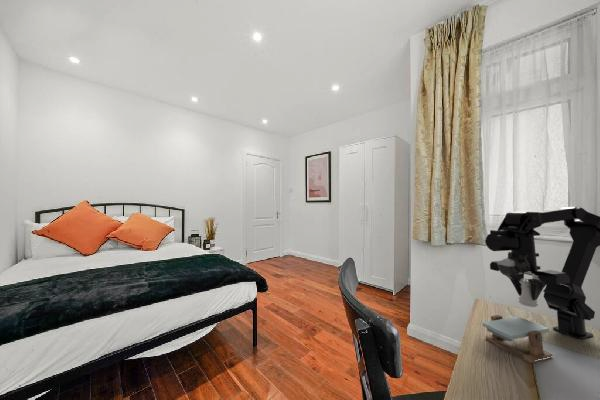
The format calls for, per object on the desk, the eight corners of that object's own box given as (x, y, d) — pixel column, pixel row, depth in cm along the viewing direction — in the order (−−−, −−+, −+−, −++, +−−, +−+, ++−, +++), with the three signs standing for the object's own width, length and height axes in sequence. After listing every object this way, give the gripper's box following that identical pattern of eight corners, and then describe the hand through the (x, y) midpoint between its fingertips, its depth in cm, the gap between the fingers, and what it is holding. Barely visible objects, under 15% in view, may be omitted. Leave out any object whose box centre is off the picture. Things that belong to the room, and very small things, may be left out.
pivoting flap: (517, 322, 73) (517, 316, 73) (549, 335, 65) (548, 328, 65) (482, 329, 70) (482, 322, 70) (511, 343, 62) (511, 336, 62)
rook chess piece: (542, 307, 70) (539, 281, 71) (525, 307, 71) (522, 281, 72) (530, 302, 75) (528, 277, 75) (515, 301, 76) (512, 277, 76)
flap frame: (504, 334, 74) (502, 312, 74) (553, 358, 62) (550, 332, 62) (484, 338, 72) (482, 316, 73) (531, 363, 60) (528, 336, 60)
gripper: (475, 247, 82) (479, 290, 81) (538, 256, 63) (544, 313, 62) (500, 245, 84) (504, 287, 83) (568, 253, 65) (574, 308, 64)
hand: (527, 297), depth 73 cm, fingers closed on rook chess piece, 3 cm apart
